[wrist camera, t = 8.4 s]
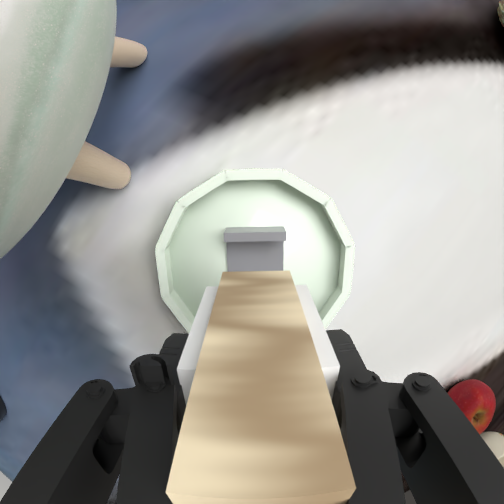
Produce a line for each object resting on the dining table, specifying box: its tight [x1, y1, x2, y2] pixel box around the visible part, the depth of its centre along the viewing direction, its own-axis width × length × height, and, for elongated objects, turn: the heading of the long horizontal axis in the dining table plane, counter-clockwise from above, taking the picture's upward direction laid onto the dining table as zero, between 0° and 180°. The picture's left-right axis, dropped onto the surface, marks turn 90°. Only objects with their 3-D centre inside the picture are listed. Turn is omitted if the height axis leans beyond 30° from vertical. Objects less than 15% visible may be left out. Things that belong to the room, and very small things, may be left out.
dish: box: [155, 168, 355, 333], centre depth 21 cm, size 14×14×3 cm
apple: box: [447, 379, 496, 434], centre depth 23 cm, size 8×8×8 cm
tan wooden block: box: [166, 270, 356, 504], centre depth 10 cm, size 4×4×12 cm
